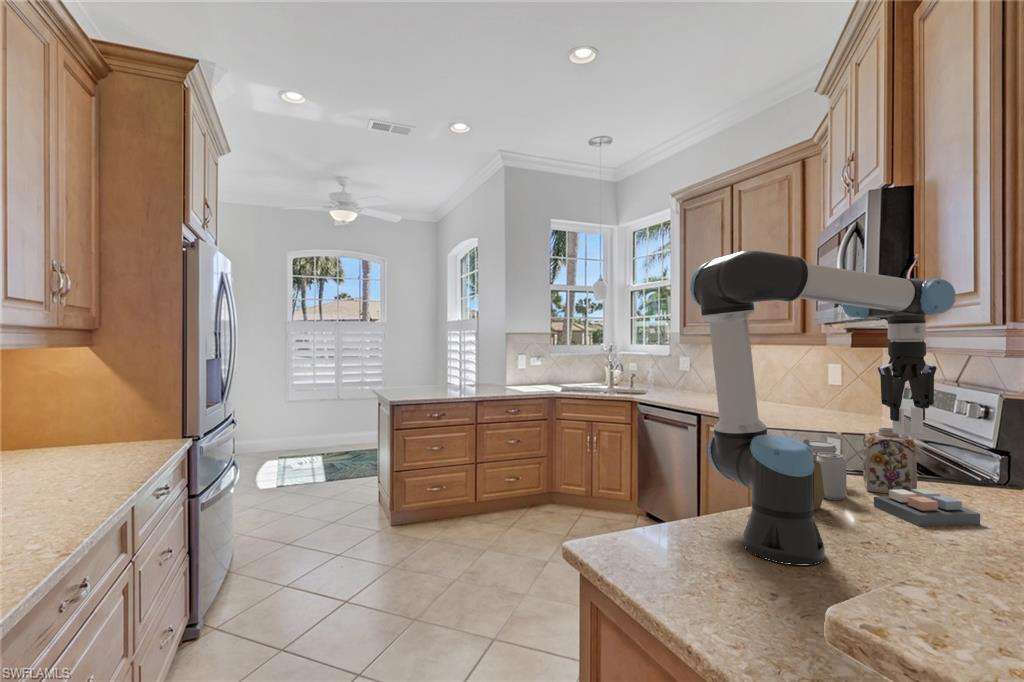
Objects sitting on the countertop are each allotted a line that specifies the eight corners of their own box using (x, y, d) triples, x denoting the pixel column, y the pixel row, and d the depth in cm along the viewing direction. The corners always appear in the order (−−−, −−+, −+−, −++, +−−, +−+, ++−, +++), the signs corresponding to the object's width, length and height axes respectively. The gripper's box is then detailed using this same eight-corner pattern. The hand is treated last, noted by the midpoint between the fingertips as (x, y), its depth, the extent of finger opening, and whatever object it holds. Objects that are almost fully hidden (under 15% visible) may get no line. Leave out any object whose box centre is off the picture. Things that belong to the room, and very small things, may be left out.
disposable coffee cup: (837, 480, 156) (836, 442, 156) (837, 488, 148) (837, 447, 148) (802, 476, 161) (801, 439, 161) (800, 483, 153) (800, 444, 153)
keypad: (919, 526, 117) (918, 515, 117) (873, 506, 131) (873, 496, 131) (980, 524, 118) (980, 513, 118) (928, 505, 132) (928, 495, 132)
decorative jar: (917, 498, 138) (916, 433, 138) (866, 491, 144) (865, 430, 144) (910, 487, 148) (910, 427, 148) (863, 481, 154) (862, 423, 154)
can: (851, 501, 136) (851, 457, 136) (821, 499, 137) (821, 456, 137) (839, 493, 143) (838, 451, 143) (811, 491, 144) (810, 450, 144)
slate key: (946, 514, 119) (945, 501, 119) (931, 508, 123) (931, 496, 123) (962, 514, 120) (961, 501, 120) (946, 508, 124) (946, 496, 124)
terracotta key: (921, 515, 119) (921, 502, 119) (908, 509, 123) (907, 496, 123) (938, 514, 119) (937, 501, 119) (923, 509, 123) (923, 496, 123)
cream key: (901, 506, 125) (901, 494, 125) (889, 501, 129) (888, 489, 129) (916, 506, 125) (916, 494, 125) (903, 501, 129) (903, 489, 129)
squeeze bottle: (783, 501, 136) (782, 436, 136) (813, 501, 136) (812, 436, 136) (800, 512, 128) (799, 442, 128) (831, 512, 127) (830, 442, 127)
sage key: (924, 506, 125) (924, 493, 125) (911, 501, 129) (911, 489, 129) (939, 505, 126) (939, 493, 126) (926, 500, 130) (925, 488, 130)
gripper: (885, 341, 120) (886, 437, 120) (953, 340, 121) (954, 435, 121) (862, 341, 128) (863, 431, 128) (926, 340, 128) (927, 430, 128)
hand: (907, 433), depth 124 cm, fingers open, 4 cm apart
